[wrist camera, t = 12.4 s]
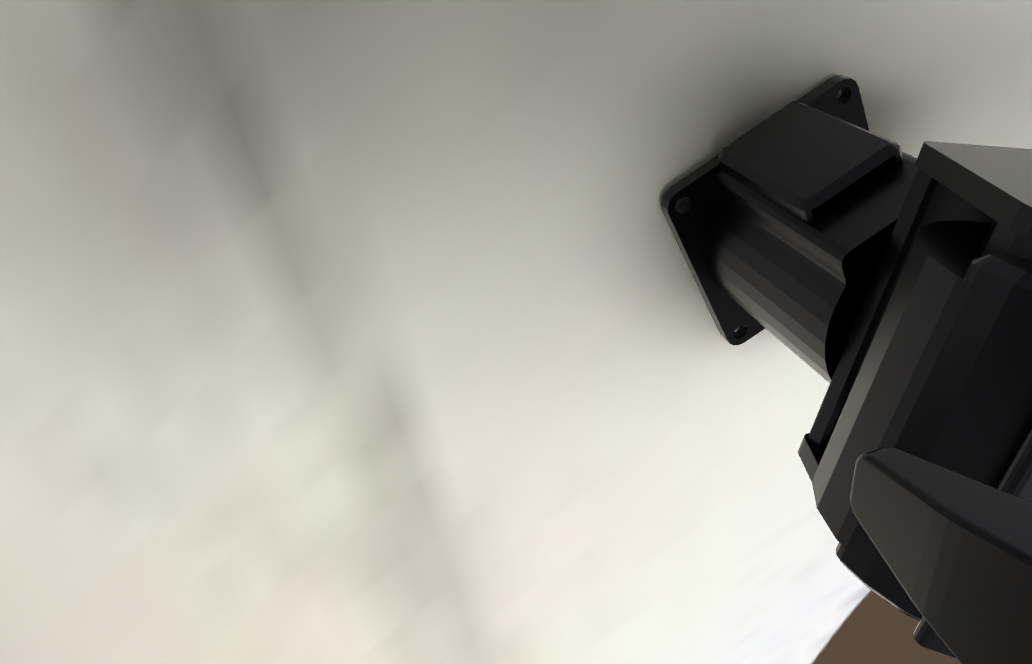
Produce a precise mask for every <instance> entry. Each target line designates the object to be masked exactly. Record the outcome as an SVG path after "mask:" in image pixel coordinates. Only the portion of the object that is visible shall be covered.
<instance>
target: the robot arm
mask: <svg viewBox="0 0 1032 664" xmlns="http://www.w3.org/2000/svg"><path fill="white" fill-rule="evenodd" d="M841 89H842V93H841V96H840V97H839V98H838V99H837V100H836V96H837V94H838V92H839V91H840V90H841ZM681 198H684V199H685V200H684V203H683V205H682V206H681V207H680V208H677V209H676V208H675V206H676V204H677V202H678V201H679V200H680V199H681ZM661 206H662V211H663V213H664V215H665V217H666V219H667V221H668V223H669V225H670V228H671V230H672V232H673V234H674V236H675V238H676V240H677V242H678V245H679V247H680V249H681V251H682V253H683V255H684V257H685V259H686V261H687V264H688V266H689V268H690V270H691V272H692V274H693V276H694V278H695V280H696V283H697V285H698V287H699V289H700V291H701V293H702V295H703V297H704V299H705V302H706V304H707V306H708V308H709V310H710V312H711V314H712V316H713V318H714V321H715V323H716V325H717V327H718V329H719V331H720V333H721V335H722V336H723V337H724V338H725V339H726V340H727V341H728V342H729V343H730V344H732V345H740V344H742V343H744V342H746V341H747V340H749V339H750V338H752V337H753V336H755V335H756V334H758V333H759V332H760V331H762V330H763V329H765V328H766V329H767V330H768V331H769V332H771V333H772V334H773V335H774V336H775V337H776V338H778V339H779V340H780V341H781V342H782V343H783V344H785V345H786V346H787V347H788V348H789V349H790V350H792V351H793V352H794V353H795V354H796V355H797V356H799V357H800V358H801V359H802V360H803V361H804V362H806V363H807V364H808V365H809V366H810V367H811V368H813V369H814V370H815V371H816V372H817V373H818V374H820V375H821V376H822V377H823V378H824V379H825V380H827V381H828V382H829V383H830V385H829V387H828V390H827V392H826V395H825V397H824V400H823V402H822V404H821V407H820V409H819V412H818V414H817V417H816V419H815V421H814V424H813V426H812V429H811V431H810V433H808V434H805V436H804V438H803V440H802V443H801V445H800V448H799V450H798V454H799V456H800V458H801V460H802V462H803V464H804V466H805V468H806V471H807V473H808V475H809V477H810V479H811V481H812V484H813V490H814V495H815V500H816V505H817V509H818V510H819V512H820V514H821V515H822V517H823V518H824V520H825V522H826V523H827V525H828V526H829V528H830V530H831V531H832V533H833V534H834V536H835V538H836V539H837V540H838V541H839V544H838V546H837V548H836V555H837V556H838V558H839V559H840V561H841V562H842V563H843V565H844V566H845V567H846V568H847V569H848V570H849V571H851V572H852V573H853V574H854V575H855V576H856V577H857V578H858V579H859V580H860V581H861V582H862V583H863V584H864V585H866V586H867V587H868V588H869V589H870V590H872V591H873V592H875V593H876V594H877V595H879V596H880V597H882V598H883V599H884V600H885V601H886V602H888V603H889V604H890V605H892V606H894V607H895V608H897V609H898V610H900V611H902V612H903V613H905V614H906V615H908V616H910V617H912V618H914V619H916V620H918V621H920V622H919V624H918V626H917V627H916V629H915V631H914V633H913V637H914V639H915V640H916V641H917V643H919V644H920V645H921V646H923V647H926V648H928V649H931V650H934V651H937V652H940V653H943V654H946V655H949V656H952V657H955V658H957V659H958V660H959V661H960V663H961V664H1032V149H1021V148H1008V147H995V146H982V145H969V144H956V143H943V142H930V141H925V142H924V144H923V146H922V149H921V151H920V153H919V156H918V158H915V157H913V156H911V155H908V154H906V153H904V152H901V149H900V146H899V145H898V144H897V143H895V142H893V141H891V140H888V139H886V138H884V137H881V136H879V135H877V134H874V133H872V132H870V131H869V128H868V124H867V120H866V116H865V112H864V108H863V104H862V99H861V95H860V91H859V87H858V85H857V83H856V81H854V80H853V79H851V78H848V77H845V76H842V75H836V76H834V77H832V78H830V79H829V80H827V81H826V82H824V83H823V84H821V85H820V86H818V87H817V88H815V89H814V90H813V91H811V92H810V93H808V94H807V95H805V96H804V97H802V98H801V99H799V100H798V101H796V102H791V103H790V104H788V105H787V106H785V107H784V108H782V109H781V110H780V111H778V112H777V113H775V114H774V115H772V116H771V117H769V118H768V119H766V120H765V121H763V122H762V123H761V124H759V125H758V126H756V127H755V128H753V129H752V130H750V131H749V132H747V133H746V134H744V135H743V136H742V137H740V138H739V139H737V140H736V141H734V142H733V143H731V144H730V145H728V146H727V147H725V148H724V149H723V150H722V152H721V153H720V154H719V155H717V156H716V157H715V158H713V159H712V160H710V161H709V162H707V163H706V164H704V165H703V166H701V167H700V168H698V169H697V170H696V171H694V172H693V173H691V174H690V175H688V176H687V177H685V178H684V179H682V180H681V181H679V182H678V183H677V184H675V185H674V186H672V187H671V188H670V189H669V190H667V191H666V192H665V194H664V196H663V198H662V203H661ZM739 326H740V327H739ZM737 327H739V329H738V330H737V331H736V332H734V331H735V329H736V328H737Z"/></svg>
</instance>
